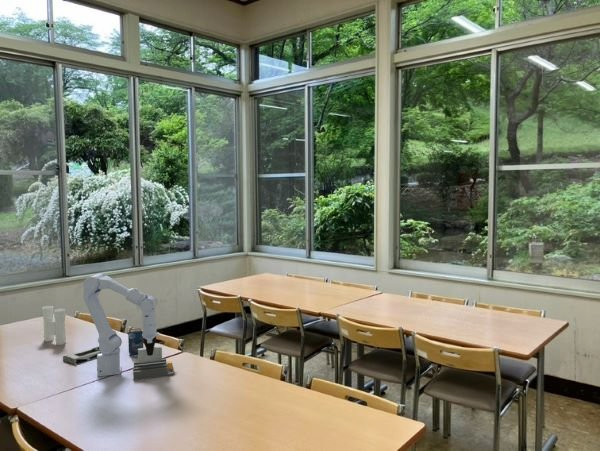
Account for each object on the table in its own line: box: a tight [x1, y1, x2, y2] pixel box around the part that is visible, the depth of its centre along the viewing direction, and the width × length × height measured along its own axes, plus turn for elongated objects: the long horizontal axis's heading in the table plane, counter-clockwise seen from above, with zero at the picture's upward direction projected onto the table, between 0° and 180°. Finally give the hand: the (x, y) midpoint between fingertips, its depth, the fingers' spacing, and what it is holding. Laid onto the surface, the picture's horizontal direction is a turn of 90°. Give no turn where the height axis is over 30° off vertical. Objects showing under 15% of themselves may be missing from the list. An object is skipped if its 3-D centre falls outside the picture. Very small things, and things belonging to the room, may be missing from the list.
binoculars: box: [41, 305, 67, 346], centre depth 253 cm, size 17×5×18 cm, turn 56°
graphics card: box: [62, 346, 121, 366], centre depth 231 cm, size 10×3×25 cm
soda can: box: [127, 328, 144, 357], centre depth 233 cm, size 7×7×12 cm
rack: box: [132, 358, 175, 381], centre depth 209 cm, size 16×12×4 cm
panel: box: [137, 346, 163, 363], centre depth 208 cm, size 10×2×6 cm, turn 108°
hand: (150, 354), depth 208 cm, fingers closed on panel, 2 cm apart
